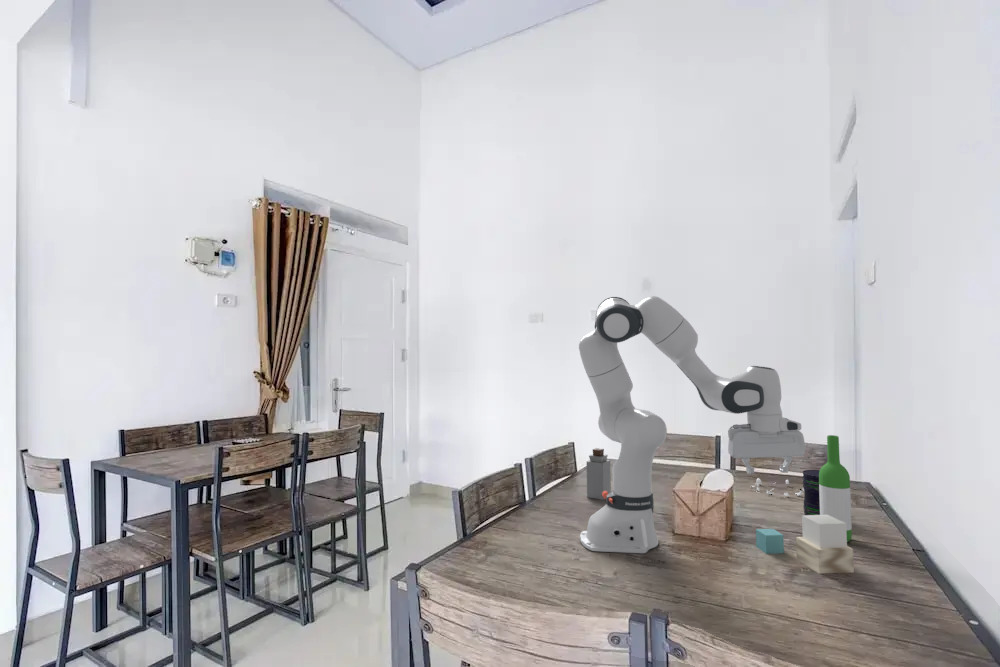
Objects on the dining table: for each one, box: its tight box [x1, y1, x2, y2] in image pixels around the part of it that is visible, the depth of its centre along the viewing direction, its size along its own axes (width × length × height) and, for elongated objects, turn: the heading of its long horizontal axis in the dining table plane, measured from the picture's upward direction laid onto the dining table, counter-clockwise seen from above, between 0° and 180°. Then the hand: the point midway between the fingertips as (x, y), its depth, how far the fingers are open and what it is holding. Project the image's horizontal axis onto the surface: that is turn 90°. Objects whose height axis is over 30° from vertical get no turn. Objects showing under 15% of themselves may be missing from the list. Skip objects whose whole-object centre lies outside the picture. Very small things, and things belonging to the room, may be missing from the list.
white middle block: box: [801, 515, 848, 548], centre depth 134 cm, size 7×7×6 cm
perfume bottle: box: [586, 447, 612, 501], centre depth 200 cm, size 7×7×18 cm
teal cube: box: [755, 528, 785, 555], centre depth 145 cm, size 5×5×5 cm
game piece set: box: [751, 477, 804, 497], centre depth 204 cm, size 19×20×4 cm
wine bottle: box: [819, 434, 853, 543], centre depth 153 cm, size 8×8×30 cm
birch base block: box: [795, 536, 855, 575], centre depth 134 cm, size 9×9×6 cm
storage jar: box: [802, 469, 820, 515], centre depth 170 cm, size 10×10×15 cm
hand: (767, 472), depth 146 cm, fingers open, 8 cm apart
